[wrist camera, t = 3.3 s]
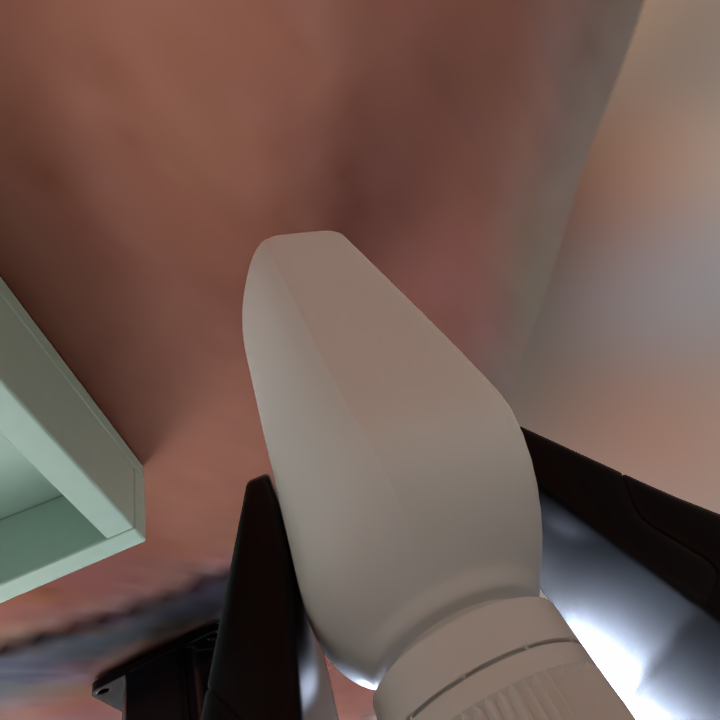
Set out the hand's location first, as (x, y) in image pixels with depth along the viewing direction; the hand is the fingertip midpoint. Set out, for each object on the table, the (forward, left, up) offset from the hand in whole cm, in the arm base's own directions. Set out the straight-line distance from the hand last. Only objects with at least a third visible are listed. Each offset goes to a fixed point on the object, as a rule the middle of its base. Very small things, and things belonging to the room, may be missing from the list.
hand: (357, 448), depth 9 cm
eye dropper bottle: (0, 0, -5) cm, 5 cm away
